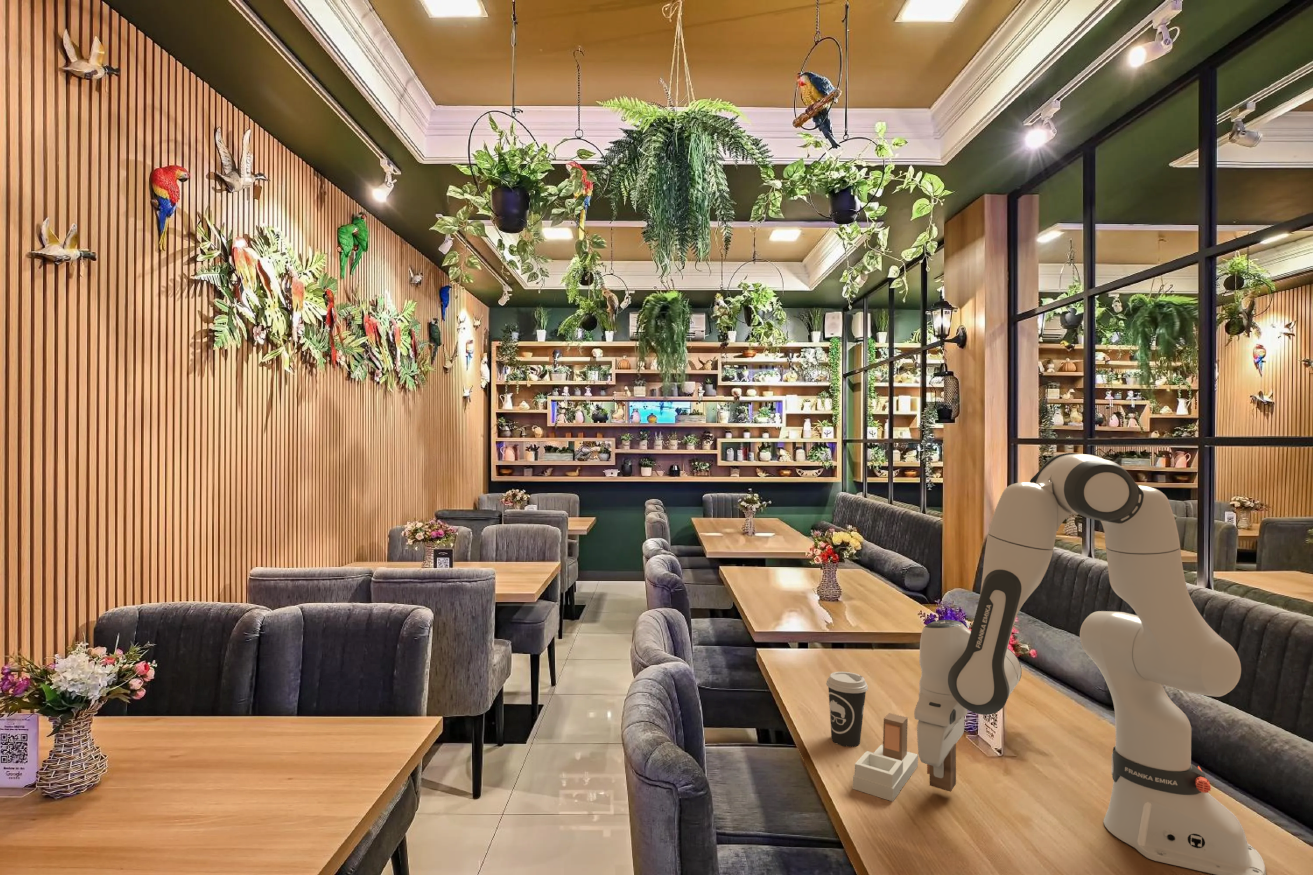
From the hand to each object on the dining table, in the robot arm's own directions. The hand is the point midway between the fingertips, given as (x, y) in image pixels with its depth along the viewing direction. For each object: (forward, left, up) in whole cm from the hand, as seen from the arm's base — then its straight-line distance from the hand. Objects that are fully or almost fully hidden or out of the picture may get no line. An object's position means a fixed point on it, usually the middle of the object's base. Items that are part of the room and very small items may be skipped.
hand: (943, 770), depth 134 cm
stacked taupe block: (0, 0, -3) cm, 3 cm away
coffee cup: (+24, -12, -5) cm, 28 cm away
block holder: (+11, 0, -5) cm, 12 cm away
